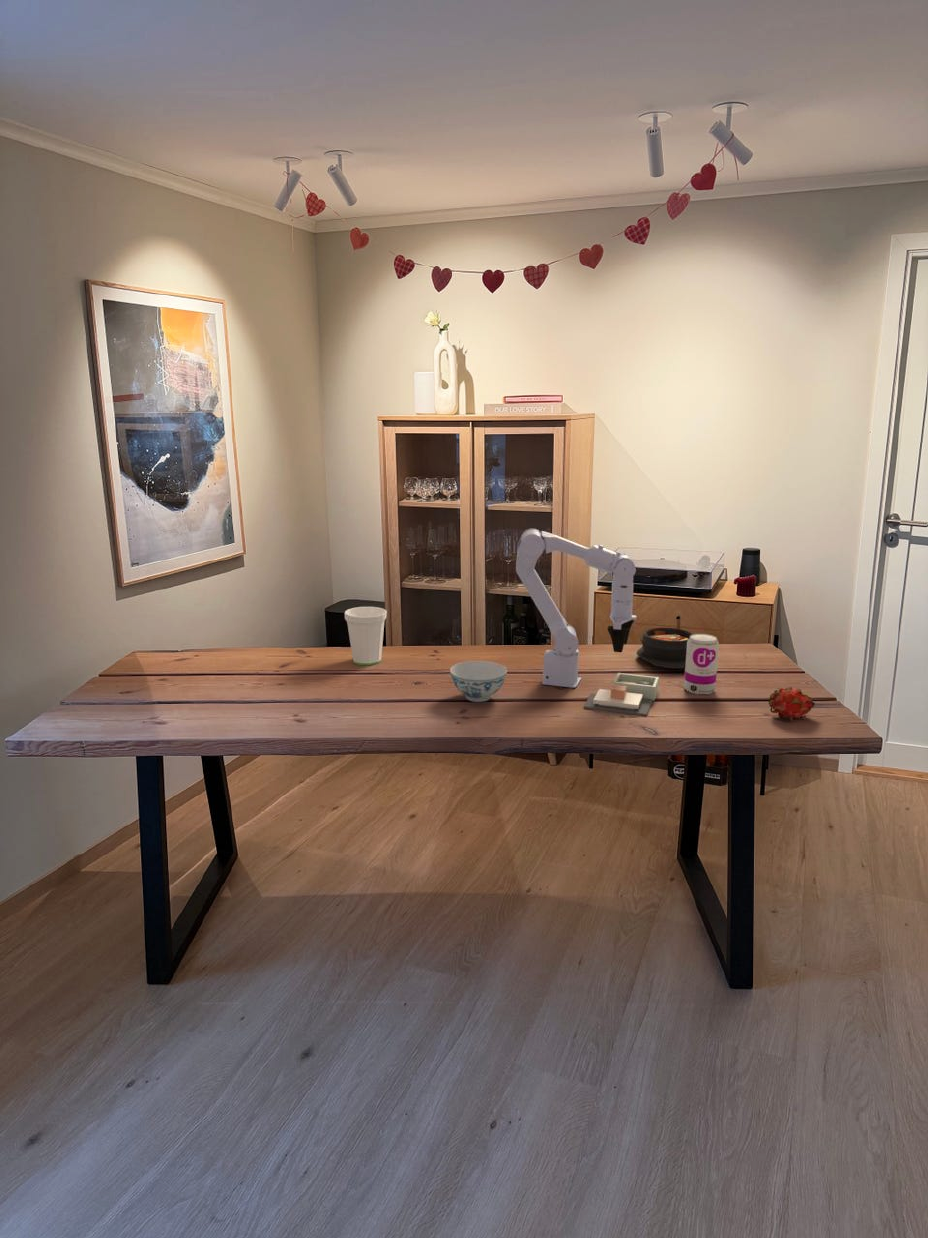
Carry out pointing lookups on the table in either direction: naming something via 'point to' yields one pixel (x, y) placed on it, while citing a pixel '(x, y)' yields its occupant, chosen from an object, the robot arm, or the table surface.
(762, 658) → the table surface
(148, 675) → the table surface
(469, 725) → the table surface
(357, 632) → the cup
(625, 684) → the storage box
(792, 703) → the dragon fruit
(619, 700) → the lid
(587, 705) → the mat
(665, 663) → the casserole
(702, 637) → the supplement can
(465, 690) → the chinaware
